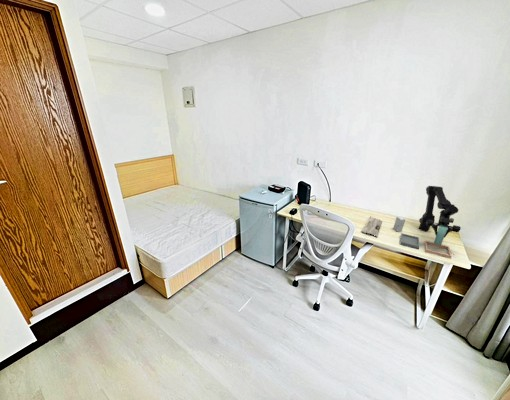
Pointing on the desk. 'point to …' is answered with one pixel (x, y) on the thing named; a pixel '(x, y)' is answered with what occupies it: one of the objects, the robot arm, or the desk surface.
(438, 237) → the canister
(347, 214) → the desk surface
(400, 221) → the skincare box
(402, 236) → the tray
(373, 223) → the newspaper
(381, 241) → the desk surface
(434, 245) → the pink square frame
